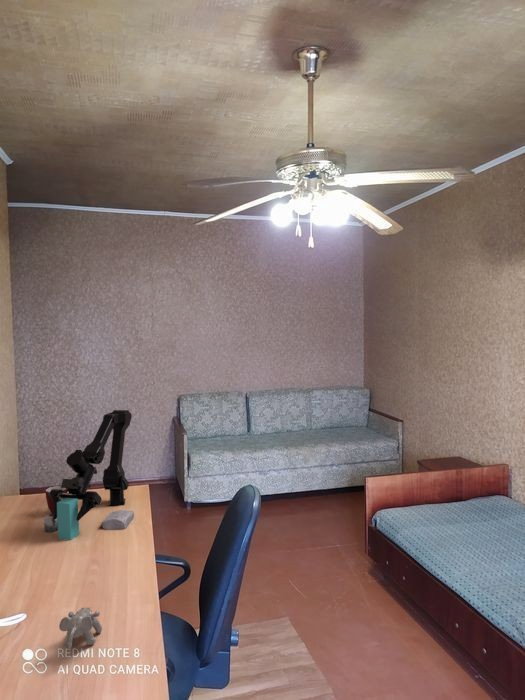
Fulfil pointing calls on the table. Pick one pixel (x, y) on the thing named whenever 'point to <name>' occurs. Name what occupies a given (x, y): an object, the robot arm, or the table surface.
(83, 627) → the elephant statuette
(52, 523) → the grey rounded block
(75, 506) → the teal block
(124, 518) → the stone block
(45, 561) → the table surface
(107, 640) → the table surface
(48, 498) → the mug
